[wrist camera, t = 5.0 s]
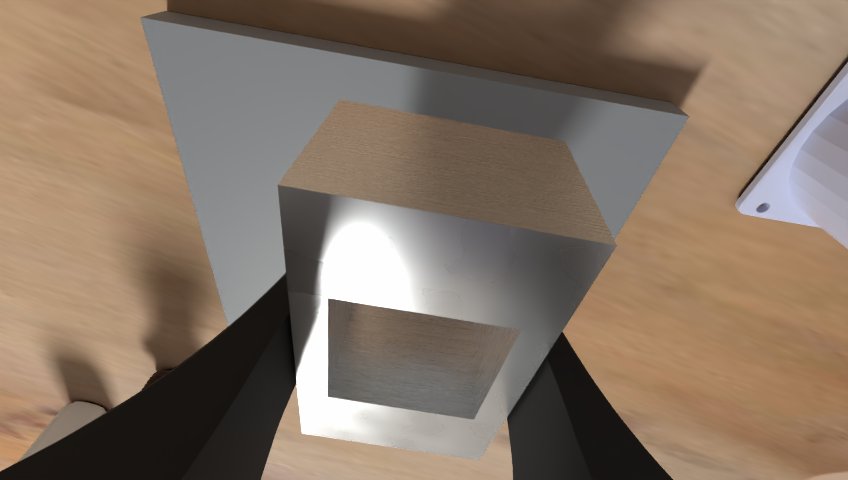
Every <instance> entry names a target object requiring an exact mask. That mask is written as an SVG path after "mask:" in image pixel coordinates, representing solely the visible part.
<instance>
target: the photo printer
mask: <svg viewBox="0 0 848 480" xmlns="http://www.w3.org/2000/svg"><path fill="white" fill-rule="evenodd" d="M106 412H107V411H105V409H104V408H103V407H100V406H98V405H95V404H92V403H88V402H81V401H76V402H74V403H68V404H67V405H66V406H65V407H64V408H63V409H62V410H61V411H60V412H59V413H58V414H57V415H56V417H55V418H54V419H53V420H52V421H51V423H50V424H49V425H48V426H47V427H46V429H45V430H44V431H43V432H42V434H41V435H40V436H39V437H38V438H37V440H36V441H35V442H34V443H33V444H32V446H31V447H30V448H29V449H28V450H27V452H26V453H25V454H24V455H23V456H22V457H21V459H20V460H19V461H21V460H23V459H25V458H27V457H29V456H30V455H32V454H34V453H36V452H38V451H40V450H42V449H44V448H45V447H47V446H49V445H51V444H53V443H55V442H57V441H58V440H60V439H62V438H64V437H66V436H67V435H69V434H71V433H73V432H74V431H76V430H78V429H79V428H81V427H83V426H84V425H86V424H88V423H89V422H91V421H93V420H94V419H96V418H98V417H99V416H101V415H103V414H105V413H106ZM19 461H18V462H19Z"/></svg>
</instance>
